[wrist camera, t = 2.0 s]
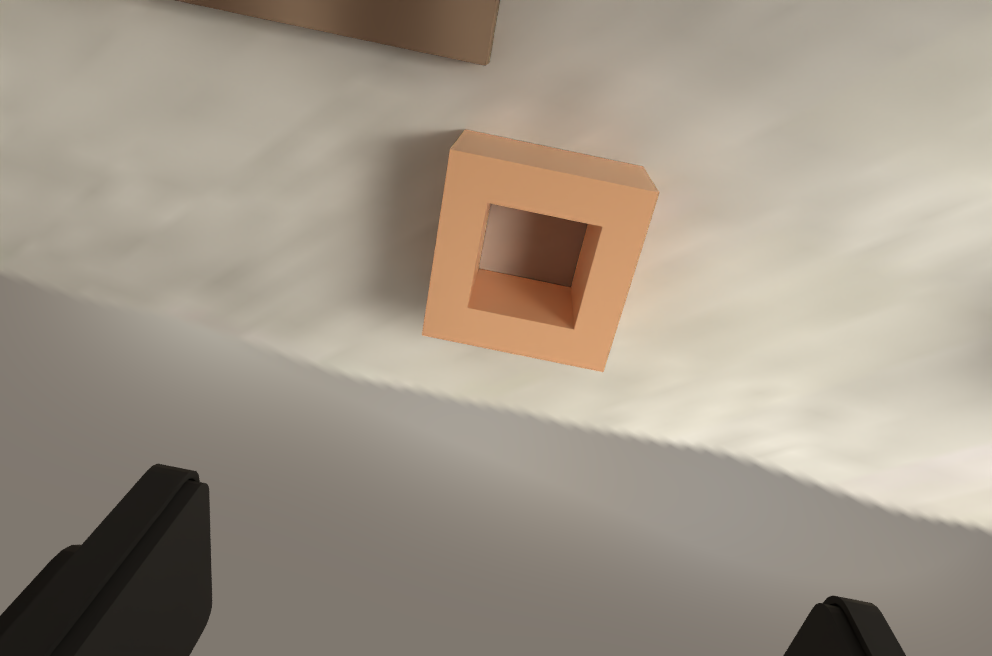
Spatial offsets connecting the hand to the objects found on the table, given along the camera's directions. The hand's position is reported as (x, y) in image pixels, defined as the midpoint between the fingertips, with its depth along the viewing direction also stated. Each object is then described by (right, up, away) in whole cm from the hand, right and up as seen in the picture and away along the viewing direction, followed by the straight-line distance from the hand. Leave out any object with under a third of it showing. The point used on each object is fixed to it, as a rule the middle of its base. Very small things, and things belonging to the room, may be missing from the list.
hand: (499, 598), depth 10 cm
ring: (+2, +8, +16) cm, 18 cm away
